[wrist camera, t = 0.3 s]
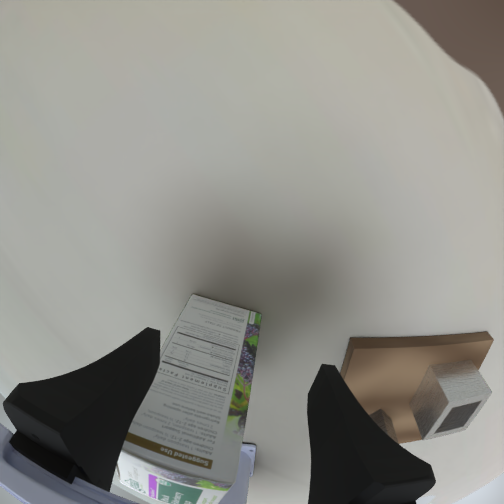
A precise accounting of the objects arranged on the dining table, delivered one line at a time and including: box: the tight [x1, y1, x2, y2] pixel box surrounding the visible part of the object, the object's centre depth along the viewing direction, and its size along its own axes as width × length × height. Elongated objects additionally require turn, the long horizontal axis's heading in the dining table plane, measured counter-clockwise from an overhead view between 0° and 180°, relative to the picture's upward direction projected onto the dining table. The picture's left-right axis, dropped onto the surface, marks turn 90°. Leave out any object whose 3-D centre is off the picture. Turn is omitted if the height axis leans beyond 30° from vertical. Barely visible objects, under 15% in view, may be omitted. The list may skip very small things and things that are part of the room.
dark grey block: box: [369, 409, 399, 444], centre depth 22 cm, size 3×3×5 cm
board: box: [340, 332, 494, 444], centre depth 24 cm, size 16×16×2 cm
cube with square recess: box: [409, 360, 492, 440], centre depth 20 cm, size 6×6×5 cm
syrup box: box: [116, 294, 261, 504], centre depth 17 cm, size 6×6×14 cm
